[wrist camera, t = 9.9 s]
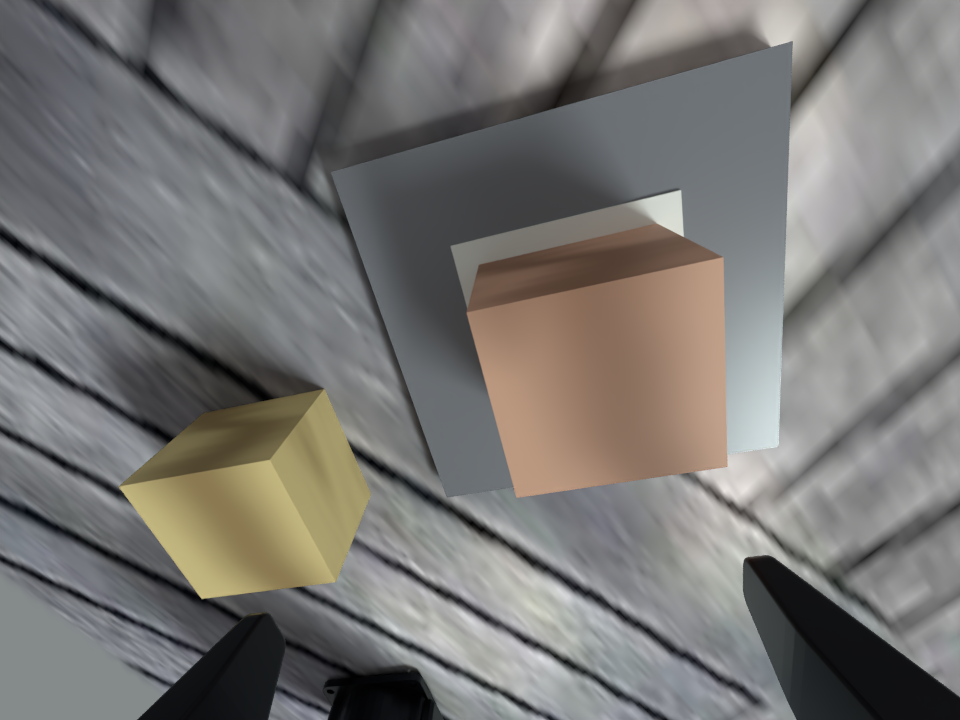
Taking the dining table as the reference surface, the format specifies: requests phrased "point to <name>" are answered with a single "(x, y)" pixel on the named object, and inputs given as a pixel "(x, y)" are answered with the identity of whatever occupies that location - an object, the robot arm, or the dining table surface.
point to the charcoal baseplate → (581, 233)
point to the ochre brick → (255, 496)
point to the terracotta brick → (604, 359)
